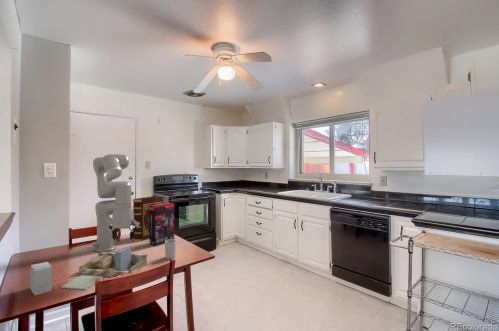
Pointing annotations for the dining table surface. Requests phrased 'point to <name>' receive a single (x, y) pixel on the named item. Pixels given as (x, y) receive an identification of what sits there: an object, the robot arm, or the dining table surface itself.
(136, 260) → the mottled brown tray
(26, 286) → the dining table surface
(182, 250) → the dining table surface
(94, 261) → the offcut upper
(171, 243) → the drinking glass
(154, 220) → the graphics card box
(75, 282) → the mat
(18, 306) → the dining table surface
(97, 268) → the offcut lower
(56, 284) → the dining table surface
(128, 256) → the blue gray rectangular block
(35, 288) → the skincare box
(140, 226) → the decorative book
